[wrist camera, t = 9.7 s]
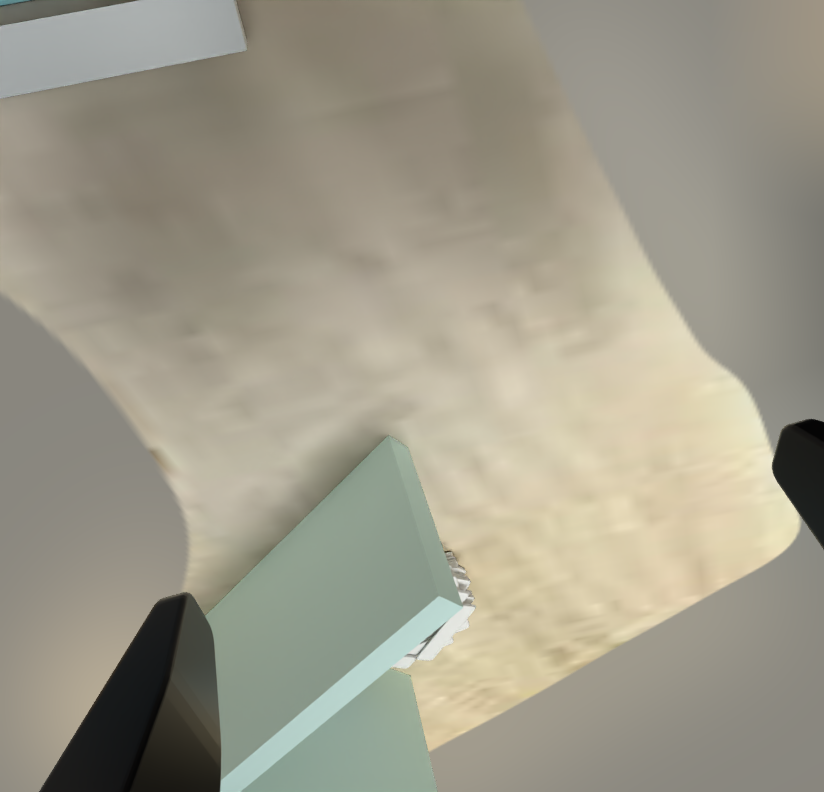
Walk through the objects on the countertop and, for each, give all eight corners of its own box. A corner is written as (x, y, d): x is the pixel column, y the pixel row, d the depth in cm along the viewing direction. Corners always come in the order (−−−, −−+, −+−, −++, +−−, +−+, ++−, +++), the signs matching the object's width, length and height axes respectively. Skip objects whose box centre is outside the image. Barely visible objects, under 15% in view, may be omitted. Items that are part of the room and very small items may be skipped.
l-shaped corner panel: (398, 684, 33) (433, 844, 26) (202, 617, 26) (189, 807, 20) (566, 548, 29) (650, 695, 23) (388, 434, 23) (438, 595, 17)
